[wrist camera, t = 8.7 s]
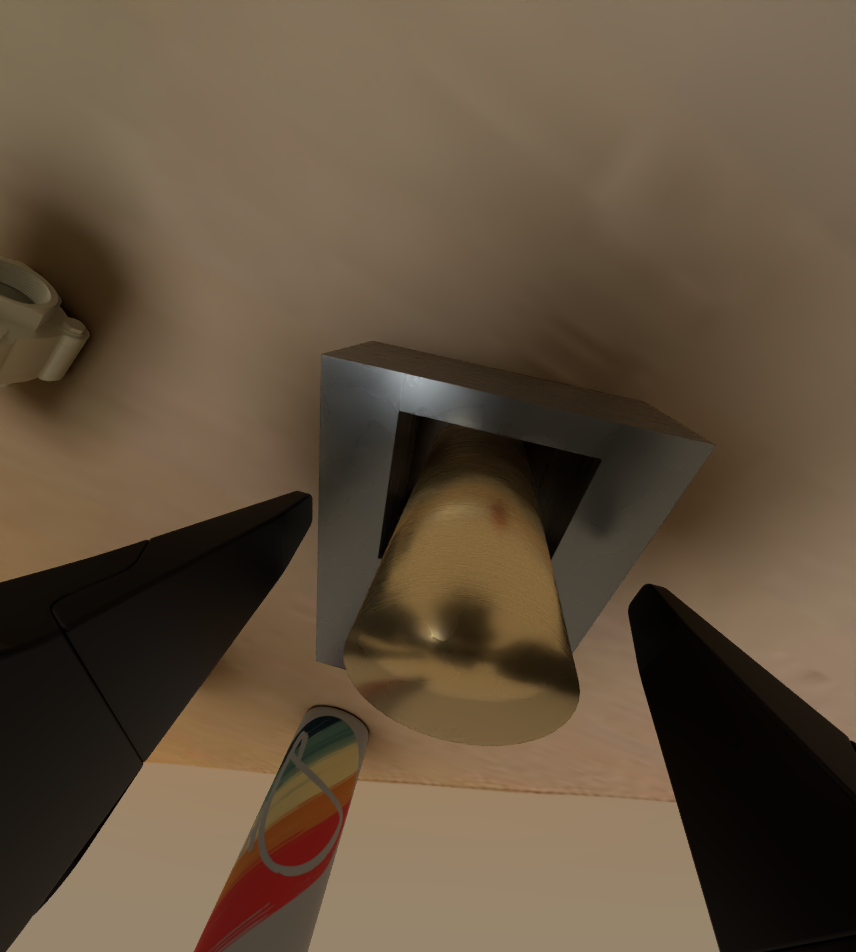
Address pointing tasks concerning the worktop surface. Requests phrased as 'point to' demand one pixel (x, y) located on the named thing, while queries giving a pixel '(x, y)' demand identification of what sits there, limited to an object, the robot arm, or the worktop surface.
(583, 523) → the socket block
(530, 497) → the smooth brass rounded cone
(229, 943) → the lotion bottle
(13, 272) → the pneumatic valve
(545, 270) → the worktop surface
